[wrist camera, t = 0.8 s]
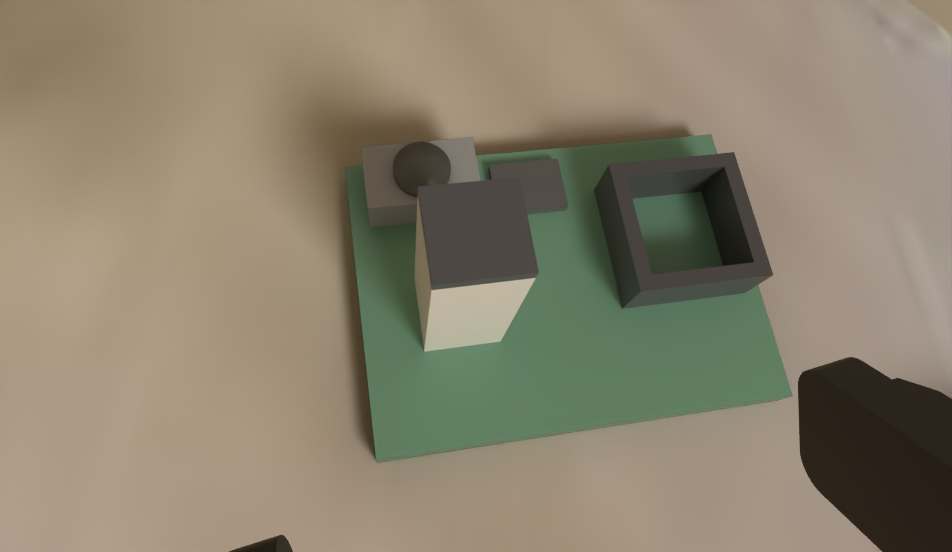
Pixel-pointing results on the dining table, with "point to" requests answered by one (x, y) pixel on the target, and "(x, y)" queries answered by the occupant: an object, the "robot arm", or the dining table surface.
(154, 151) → the dining table surface
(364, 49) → the dining table surface
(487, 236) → the plug
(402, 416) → the board
